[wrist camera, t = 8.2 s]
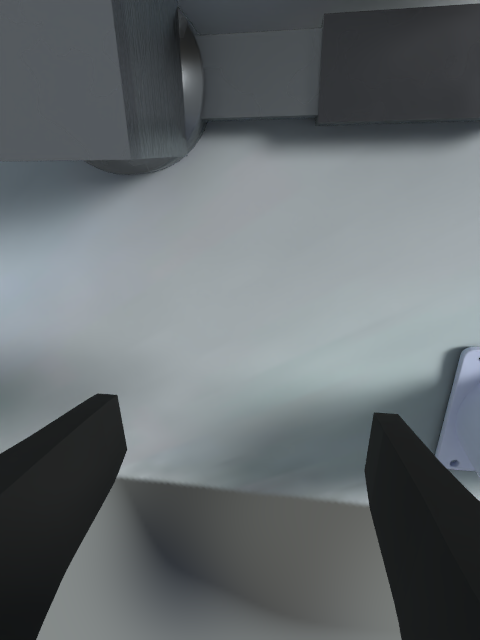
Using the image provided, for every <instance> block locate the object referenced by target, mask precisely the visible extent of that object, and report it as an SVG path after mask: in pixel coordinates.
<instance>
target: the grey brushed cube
mask: <svg viewBox="0 0 480 640" xmlns="http://www.w3.org/2000/svg"><path fill="white" fill-rule="evenodd" d="M181 156H187V141H186V125H185V110H184V95H183V80H182V65H181V50H180V35H179V20H178V5H177V0H0V161H68V160H133V159H149V158H165V157H181Z"/></svg>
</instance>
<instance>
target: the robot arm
mask: <svg viewBox="0 0 480 640" xmlns="http://www.w3.org/2000/svg"><path fill="white" fill-rule="evenodd" d="M479 358H480V347H468V348H466V349H465V350H463V351H462V353H461V355H460V359H459V363H458V367H457V371H456V375H455V379H454V383H453V387H452V391H451V395H450V398H449V402H448V406H447V410H446V414H445V418H444V422H443V426H442V430H441V434H440V438H439V442H438V446H437V450H436V453H435V455H434V454H433V453H432V452H431V451H430V450H429V449H428V448H427V447H426V445H425V444H424V443H423V442H422V441H421V440H420V439H419V438H418V436H417V435H416V434H415V433H414V432H413V431H412V430H411V428H410V427H409V426H408V425H407V424H406V423H405V422H404V421H403V419H402V418H401V417H400V416H399V415H398V414H387V413H374V415H373V421H372V428H371V434H370V440H369V446H368V452H367V459H366V465H365V477H366V485H367V492H368V499H369V506H370V511H371V514H372V519H373V523H374V526H375V530H376V534H377V538H378V542H379V546H380V550H381V553H382V557H383V561H384V565H385V568H386V572H387V576H388V580H389V584H390V588H391V592H392V596H393V599H394V603H395V608H396V613H397V617H398V622H399V627H400V633H401V638H402V640H480V501H479V500H477V499H476V498H475V497H474V496H473V495H472V494H471V493H470V492H469V491H468V490H467V489H466V488H465V487H464V486H463V485H462V484H461V483H460V482H459V481H458V480H457V479H456V478H455V477H454V476H453V475H452V474H451V473H450V471H449V470H448V469H453V470H465V471H476V472H477V474H478V476H479V478H480V360H479ZM126 451H127V446H126V440H125V435H124V429H123V424H122V418H121V413H120V407H119V402H118V396H117V395H110V394H96V395H94V396H93V397H91V398H89V399H87V400H86V401H84V402H83V403H81V404H79V405H78V406H76V407H75V408H73V409H72V410H70V411H69V412H67V413H65V414H64V415H62V416H61V417H59V418H58V419H56V420H55V421H53V422H52V423H50V424H48V425H47V426H45V427H44V428H42V429H41V430H39V431H37V432H36V433H34V434H33V435H31V436H30V437H28V438H26V439H25V440H23V441H21V442H20V443H18V444H16V445H14V446H13V447H11V448H9V449H8V450H6V451H4V452H3V453H1V454H0V640H36V638H37V636H38V634H39V631H40V629H41V626H42V624H43V621H44V619H45V617H46V614H47V612H48V610H49V608H50V605H51V603H52V601H53V599H54V597H55V594H56V592H57V590H58V587H59V585H60V583H61V581H62V578H63V576H64V574H65V572H66V570H67V568H68V566H69V565H70V562H71V561H72V559H73V557H74V555H75V553H76V551H77V550H78V548H79V546H80V544H81V542H82V540H83V539H84V537H85V535H86V533H87V532H88V530H89V528H90V526H91V524H92V522H93V521H94V519H95V517H96V515H97V513H98V511H99V510H100V508H101V506H102V504H103V502H104V501H105V499H106V497H107V495H108V493H109V491H110V489H111V488H112V486H113V484H114V482H115V479H116V477H117V474H118V472H119V470H120V467H121V464H122V462H123V459H124V457H125V454H126ZM453 460H456V461H454V462H451V461H453Z"/></svg>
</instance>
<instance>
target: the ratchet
mask: <svg viewBox="0 0 480 640" xmlns="http://www.w3.org/2000/svg"><path fill="white" fill-rule="evenodd" d="M178 20H179V35H180V50H181V65H182V80H183V95H184V110H185V125H186V141H187V154H188V153H189V152H190V151H191V150H192V149H193V148H194V146H195V145H196V143H197V142H198V140H199V139H200V137H201V135H202V133H203V131H204V129H205V126H206V124H207V121H232V120H264V119H296V118H316V126H321V125H356V124H391V123H425V122H460V121H480V4H465V5H450V6H435V7H420V8H405V9H390V10H375V11H360V12H345V13H330V14H324V18H323V22H322V27H321V28H310V29H294V30H277V31H261V32H245V33H229V34H213V35H198V33H197V31H196V30H195V28H194V26H193V25H192V24H191V22H190V21H189V20H188V18H187V17H186V16H185V15H184V13H183V12H182V11H181V10H180V9H179V7H178ZM184 157H185V156H181V157H165V158H149V159H133V160H84V161H86V162H87V163H89V164H90V165H92V166H94V167H96V168H98V169H101V170H104V171H107V172H110V173H115V174H124V175H131V174H141V173H147V172H154V171H158V170H162V169H165V168H167V167H170V166H172V165H174V164H175V163H177V162H179V161H180V160H181V159H182V158H184Z"/></svg>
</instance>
